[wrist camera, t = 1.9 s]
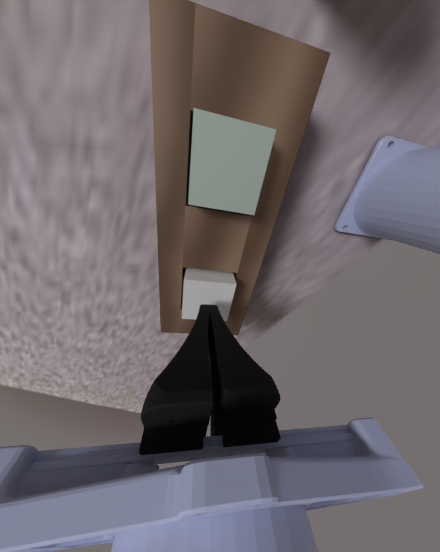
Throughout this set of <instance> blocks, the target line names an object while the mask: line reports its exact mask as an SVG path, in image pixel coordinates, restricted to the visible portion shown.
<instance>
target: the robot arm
mask: <svg viewBox="0 0 440 552" xmlns="http://www.w3.org/2000/svg"><path fill="white" fill-rule="evenodd" d="M388 144H389V147H388ZM344 226H345V227H344ZM343 227H344V228H343ZM334 229H335V230H336V231H339V232H345V233H351V234H357V235H364V236H370V237H376V238H382V239H388V240H394V241H398V242H402V243H405V244H409V245H412V246H415V247H418V248H422V249H425V250H429V251H432V252H435V253H439V254H440V146H435V147H426V146H423V145H419V144H416V143H413V142H409V141H406V140H402V139H399V138H395V137H392V136H385V137H383V138H381V139H380V140H379V141H378V143H377V145H376V147H375V149H374V150H373V152H372V154H371V156H370V158H369V160H368V162H367V164H366V166H365V168H364V170H363V172H362V174H361V176H360V178H359V180H358V181H357V183H356V185H355V187H354V189H353V191H352V193H351V195H350V197H349V199H348V201H347V203H346V205H345V207H344V209H343V211H342V213H341V214H340V216H339V218H338V220H337V222H336V224H335V226H334ZM209 359H210V361H209ZM279 401H280V394H279V392H278V389H277V387H276V385H275V383H274V381H273V379H272V377H271V376H270V375H269V374H268V373H267V372H265V371H264V370H263V369H262V368H261V367H260V366H259V365H258V364H257V363H256V362H255V361H254V360H253V359H252V358H251V357H250V356H249V355H248V354H247V353H246V352H245V350H244V349H243V348H242V347H241V346H240V344H239V343H238V342H237V340H236V339H235V338H234V336H233V335H232V333H231V332H230V330H229V328H228V327H227V325H226V323H225V321H224V320H223V318H222V316H221V314H220V311H219V309H218V306H217V305H206V304H201V305H200V308H199V312H198V315H197V318H196V320H195V323H194V325H193V327H192V329H191V331H190V333H189V335H188V337H187V339H186V340H185V342H184V343H183V345H182V346H181V348H180V349H179V351H178V352H177V354H176V355H175V356H174V358H173V359H172V360H171V362H170V363H169V364H168V365H167V367H166V368H165V369H164V370H163V371H162V372H161V374H160V375H159V376H158V377H157V378H156V379H155V380H154V382H153V384H152V386H151V388H150V390H149V392H148V394H147V397H146V399H145V402H144V405H143V409H142V412H141V420H142V423H143V425H144V432H143V436H142V440H141V442H139V443H127V444H116V445H104V446H92V447H80V448H68V449H56V450H45V451H37V449H36V448H35V447H33V446H28V445H21V446H20V445H19V446H6V447H0V552H49V551H56V550H62V549H69V548H76V547H83V546H90V545H96V544H103V543H110V542H113V546H112V550H111V552H318V549H317V546H316V543H315V540H314V536H313V533H312V530H311V527H310V523H309V520H308V517H307V514H306V511H307V510H312V509H318V508H323V507H329V506H335V505H340V504H346V503H352V502H357V501H363V500H369V499H375V498H381V497H388V496H392V495H396V494H400V493H404V492H409V491H413V490H417V489H421V488H423V484H422V483H421V482H420V481H419V479H418V478H417V476H416V475H415V474H414V472H413V471H412V470H411V468H410V467H409V465H408V464H407V463H406V461H405V460H404V458H403V457H402V456H401V454H400V453H399V451H398V450H397V449H396V447H395V446H394V445H393V443H392V442H391V441H390V439H389V438H388V436H387V435H386V434H385V432H384V431H383V429H382V428H381V427H380V425H379V424H378V423H377V421H376V420H375V419H374V418H372V417H370V418H358V419H354V420H352V421H350V422H349V423H348V424H347V425H339V426H327V427H315V428H304V429H292V430H281V431H279V430H278V427H277V423H276V419H277V417H276V414H275V410H274V409H275V408H276V406H277V405H278V403H279ZM210 415H211V436H209V437H206V431H207V426H208V424H209V419H210ZM261 453H265V454H261ZM192 460H194V461H192ZM182 461H191V462H189V463H186V464H185V465H181V466H176V467H171V468H166V469H161V470H159V466H158V465H154V464H163V463H172V462H182Z"/></svg>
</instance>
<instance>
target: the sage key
mask: <svg viewBox="0 0 440 552" xmlns="http://www.w3.org/2000/svg"><path fill="white" fill-rule="evenodd" d="M275 133H276V129H273V128H269V127H265V126H261V125H257V124H254V123H250V122H246V121H242V120H238V119H235V118H231V117H227V116H223V115H219V114H216V113H212V112H208V111H204V110H200V109H197V108H194V110H193V128H192V146H191V163H190V181H189V198H188V204H189V205H195V206H201V207H207V208H213V209H219V210H225V211H231V212H237V213H243V214H249V215H255V211H256V207H257V203H258V199H259V195H260V191H261V188H262V184H263V180H264V176H265V172H266V168H267V164H268V160H269V156H270V153H271V149H272V145H273V141H274V137H275Z"/></svg>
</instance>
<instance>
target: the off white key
mask: <svg viewBox="0 0 440 552" xmlns="http://www.w3.org/2000/svg"><path fill="white" fill-rule="evenodd" d="M235 288H236V281H235V278H234V275H233V272H224V271H214V270H204V269H195V268H186V272H185V276H184V286H183V303H182V319H195V320H196V318H197V315H198V312H199V308H200V305H201V304H206V305H217V306H218V309H219V311H220V314H221V316H222V318H223V320H224V321H227V319H228V316H229V312H230V308H231V304H232V300H233V296H234V292H235Z"/></svg>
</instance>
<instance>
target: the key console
mask: <svg viewBox="0 0 440 552" xmlns="http://www.w3.org/2000/svg"><path fill="white" fill-rule="evenodd" d="M149 6H150V35H151V63H152V92H153V120H154V148H155V177H156V205H157V234H158V262H159V290H160V319H161V332H169V333H190V331H191V329H192V327H193V325H194V323H195V319H182V303H183V286H184V276H185V272H186V268H195V269H204V270H214V271H224V272H233V275H234V278H235V281H236V288H235V292H234V296H233V300H232V304H231V308H230V312H229V316H228V319H227V321H225V323H226V325H227V327H228V328H229V330H230V332H231V333H232V335H238V334H239V331H240V328H241V325H242V322H243V319H244V316H245V313H246V310H247V307H248V304H249V301H250V298H251V294H252V291H253V288H254V285H255V282H256V279H257V276H258V273H259V270H260V267H261V264H262V261H263V258H264V255H265V252H266V249H267V246H268V242H269V239H270V236H271V233H272V230H273V227H274V224H275V221H276V218H277V215H278V212H279V209H280V206H281V203H282V200H283V197H284V194H285V191H286V187H287V184H288V181H289V178H290V175H291V172H292V169H293V166H294V163H295V160H296V157H297V154H298V151H299V148H300V145H301V142H302V139H303V135H304V132H305V129H306V126H307V123H308V120H309V117H310V114H311V111H312V108H313V105H314V102H315V99H316V96H317V93H318V90H319V87H320V84H321V80H322V77H323V74H324V71H325V68H326V65H327V62H328V59H329V56H330V53H329V52H327V51H324V50H321V49H319V48H316V47H313V46H310V45H308V44H305V43H302V42H300V41H297V40H294V39H291V38H289V37H286V36H283V35H280V34H278V33H275V32H272V31H270V30H267V29H264V28H261V27H259V26H256V25H253V24H251V23H248V22H245V21H242V20H240V19H237V18H234V17H232V16H229V15H226V14H223V13H221V12H218V11H215V10H213V9H210V8H207V7H204V6H202V5H199V4H196V3H194V2H191V1H188V0H149ZM194 108H197V109H200V110H204V111H208V112H212V113H216V114H219V115H223V116H227V117H231V118H235V119H238V120H242V121H246V122H250V123H254V124H257V125H261V126H265V127H269V128H273V129H276V133H275V137H274V141H273V145H272V149H271V153H270V156H269V160H268V164H267V168H266V172H265V176H264V180H263V184H262V188H261V191H260V195H259V199H258V203H257V207H256V211H255V215H249V214H243V213H237V212H231V211H225V210H219V209H213V208H207V207H201V206H195V205H189V204H188V198H189V181H190V163H191V146H192V128H193V110H194Z"/></svg>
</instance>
